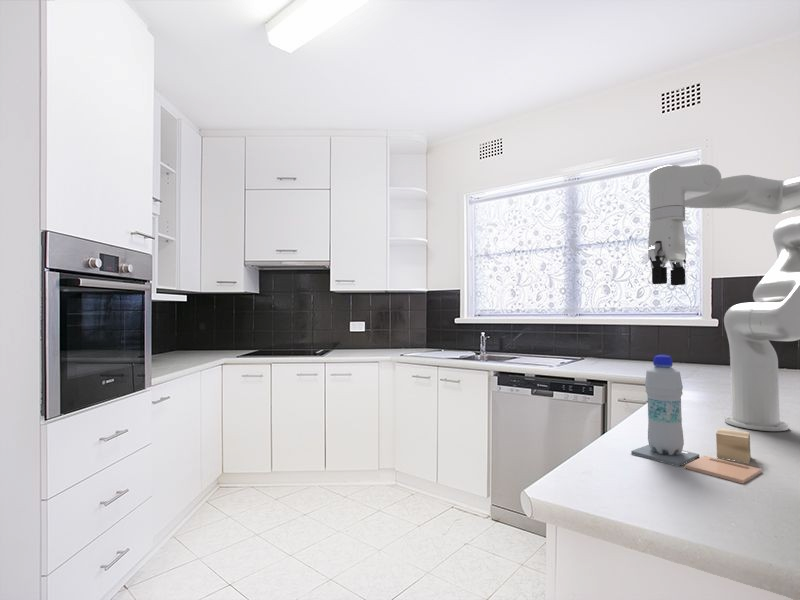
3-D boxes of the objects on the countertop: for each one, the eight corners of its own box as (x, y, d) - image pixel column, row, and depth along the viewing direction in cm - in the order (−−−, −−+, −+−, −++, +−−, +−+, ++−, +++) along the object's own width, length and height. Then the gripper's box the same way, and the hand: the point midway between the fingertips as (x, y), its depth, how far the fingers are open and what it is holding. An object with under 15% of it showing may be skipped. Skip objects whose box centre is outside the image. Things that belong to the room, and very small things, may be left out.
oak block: (719, 452, 90) (719, 428, 90) (750, 457, 86) (749, 432, 87) (716, 458, 86) (716, 433, 86) (748, 464, 83) (748, 438, 83)
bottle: (691, 458, 84) (687, 356, 84) (654, 456, 85) (650, 356, 86) (676, 447, 90) (673, 353, 91) (642, 446, 92) (639, 353, 92)
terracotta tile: (705, 458, 86) (705, 455, 86) (761, 472, 78) (761, 468, 78) (684, 468, 81) (684, 464, 81) (743, 483, 73) (743, 479, 73)
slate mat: (652, 445, 94) (652, 442, 94) (699, 457, 86) (699, 453, 86) (631, 453, 89) (631, 450, 89) (679, 466, 81) (678, 462, 81)
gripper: (667, 223, 115) (669, 286, 115) (634, 215, 105) (636, 284, 105) (699, 217, 109) (701, 284, 108) (667, 209, 99) (669, 282, 99)
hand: (669, 284), depth 107 cm, fingers open, 9 cm apart
